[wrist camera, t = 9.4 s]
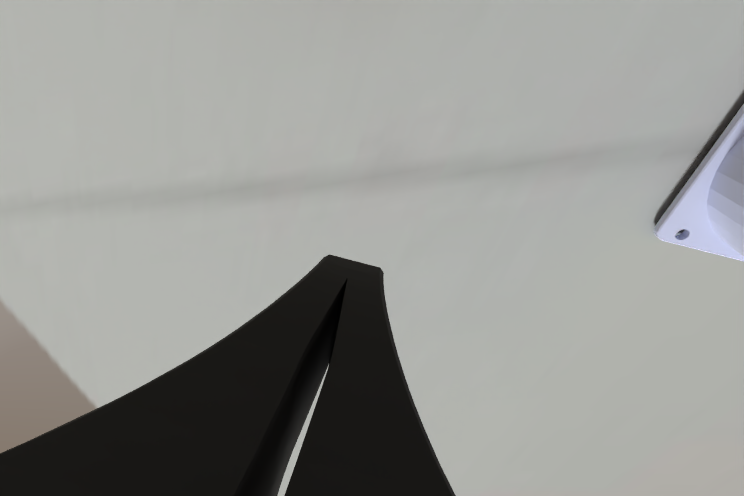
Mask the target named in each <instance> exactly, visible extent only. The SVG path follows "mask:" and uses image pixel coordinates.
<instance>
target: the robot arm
mask: <svg viewBox="0 0 744 496" xmlns="http://www.w3.org/2000/svg"><path fill="white" fill-rule="evenodd" d="M683 229H684V231H683V233H681V234H680V235H677V236H675V235H676V233H677V232H678V231H680V230H683ZM654 234H655V235H656V236H657V237H658V238H659V239H660V240H662V241H666V242H670V243H673V244H677V245H681V246H685V247H689V248H693V249H697V250H701V251H705V252H709V253H713V254H717V255H721V256H725V257H729V258H732V259H736V260H740V261H744V104H743V105H742V107H741V108H740V110H739V111H738V112H737V114H736V115H735V116H734V118H733V119H732V121H731V122H730V123H729V125H728V126H727V127H726V129H725V130H724V132H723V133H722V134H721V136H720V137H719V138H718V140H717V141H716V143H715V144H714V145H713V147H712V148H711V150H710V151H709V152H708V154H707V155H706V156H705V158H704V159H703V161H702V162H701V163H700V165H699V166H698V167H697V169H696V170H695V172H694V173H693V174H692V176H691V177H690V178H689V180H688V181H687V183H686V184H685V185H684V187H683V188H682V189H681V191H680V192H679V194H678V195H677V196H676V198H675V199H674V201H673V202H672V203H671V205H670V206H669V207H668V209H667V210H666V212H665V213H664V214H663V216H662V217H661V218H660V220H659V221H658V223H657V224H656V225H655V228H654ZM383 274H384V273H383V271H382V270H381V268H379V267H375V266H371V265H368V264H364V263H360V262H356V261H352V260H348V259H344V258H341V257H337V256H333V255H328V256H326V257H324V258H323V259H322V260H321V261H320V262H319V263H318V264H317V265H316V266H315V267H314V268H313V269H312V270H311V271H310V272H309V273H308V274H307V275H306V276H305V277H303V278H302V279H301V280H300V281H299V282H298V283H297V284H295V285H294V286H293V287H292V288H291V289H289V290H288V291H287V292H286V293H285V294H283V295H282V296H281V297H280V298H278V299H277V300H276V301H275V302H274V303H272V304H271V305H270V306H268V307H267V308H266V309H264V310H263V311H262V312H260V313H259V314H258V315H256V316H255V317H253V318H252V319H251V320H249V321H248V322H246V323H245V324H244V325H242V326H241V327H240V328H238V329H237V330H235V331H234V332H232V333H231V334H229V335H228V336H226V337H225V338H223V339H222V340H220V341H219V342H217V343H216V344H214V345H212V346H211V347H209V348H208V349H206V350H204V351H203V352H201V353H199V354H198V355H196V356H195V357H193V358H191V359H190V360H188V361H186V362H184V363H183V364H181V365H179V366H177V367H176V368H174V369H172V370H170V371H168V372H167V373H165V374H163V375H161V376H159V377H158V378H156V379H154V380H152V381H150V382H149V383H147V384H145V385H143V386H141V387H139V388H137V389H135V390H134V391H132V392H130V393H128V394H126V395H124V396H122V397H120V398H118V399H116V400H114V401H112V402H110V403H108V404H106V405H104V406H102V407H100V408H97V409H95V410H93V411H91V412H89V413H87V414H85V415H83V416H80V417H78V418H76V419H74V420H72V421H70V422H68V423H66V424H64V425H62V426H60V427H57V428H55V429H53V430H51V431H49V432H47V433H44V434H42V435H41V436H38V437H36V438H34V439H32V440H30V441H27V442H25V443H23V444H21V445H18V446H16V447H14V448H12V449H9V450H7V451H5V452H3V453H0V496H277V494H278V491H279V488H280V485H281V482H282V479H283V476H284V473H285V470H286V467H287V465H288V462H289V459H290V457H291V454H292V451H293V449H294V446H295V444H296V442H297V439H298V437H299V434H300V432H301V430H302V427H303V425H304V422H305V420H306V418H307V415H308V413H309V410H310V408H311V405H312V403H313V401H314V398H315V396H316V393H317V391H318V389H319V386H320V384H321V381H322V379H323V376H324V374H325V372H326V369H327V367H328V364H329V367H328V371H327V374H326V377H325V380H324V383H323V386H322V389H321V392H320V395H319V398H318V401H317V404H316V406H315V409H314V412H313V415H312V418H311V421H310V424H309V427H308V430H307V433H306V436H305V439H304V441H303V444H302V447H301V450H300V453H299V456H298V459H297V462H296V465H295V467H294V470H293V473H292V476H291V479H290V482H289V485H288V487H287V490H286V493H285V496H455V494H454V492H453V490H452V488H451V486H450V484H449V482H448V480H447V478H446V476H445V474H444V472H443V470H442V468H441V466H440V463H439V461H438V459H437V457H436V455H435V452H434V450H433V448H432V445H431V443H430V441H429V438H428V436H427V434H426V432H425V429H424V427H423V424H422V422H421V419H420V417H419V414H418V412H417V409H416V407H415V404H414V402H413V399H412V396H411V393H410V391H409V388H408V385H407V382H406V379H405V376H404V373H403V370H402V367H401V363H400V360H399V357H398V354H397V350H396V346H395V343H394V339H393V335H392V331H391V326H390V322H389V318H388V313H387V308H386V301H385V295H384V285H383Z"/></svg>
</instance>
